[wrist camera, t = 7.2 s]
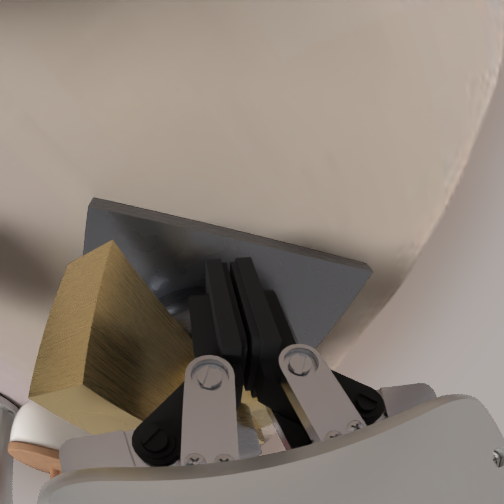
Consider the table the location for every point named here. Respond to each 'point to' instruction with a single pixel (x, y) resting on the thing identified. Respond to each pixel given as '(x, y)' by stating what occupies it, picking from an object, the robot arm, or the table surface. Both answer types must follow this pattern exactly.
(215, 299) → the robot arm
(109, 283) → the gold slotted fixture
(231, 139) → the table surface
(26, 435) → the lidded jar
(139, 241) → the housing
